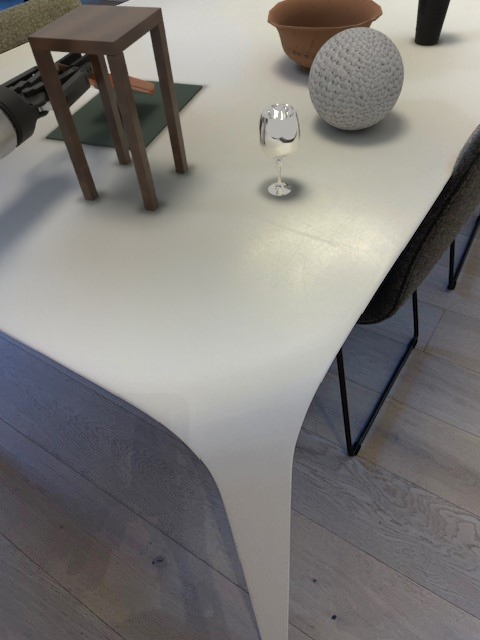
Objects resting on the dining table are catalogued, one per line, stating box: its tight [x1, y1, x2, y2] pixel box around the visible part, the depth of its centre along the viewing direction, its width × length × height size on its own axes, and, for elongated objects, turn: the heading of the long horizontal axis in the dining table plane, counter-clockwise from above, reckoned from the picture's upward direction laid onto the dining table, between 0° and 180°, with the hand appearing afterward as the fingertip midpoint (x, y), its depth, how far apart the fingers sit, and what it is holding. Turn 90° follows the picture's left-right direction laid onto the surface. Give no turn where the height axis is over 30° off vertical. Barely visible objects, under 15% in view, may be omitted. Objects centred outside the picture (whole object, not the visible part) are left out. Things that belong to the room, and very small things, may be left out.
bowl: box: [267, 0, 384, 75], centre depth 98 cm, size 22×22×11 cm
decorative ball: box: [308, 27, 405, 131], centre depth 80 cm, size 15×15×15 cm
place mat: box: [45, 80, 203, 151], centre depth 95 cm, size 20×26×1 cm
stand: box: [26, 4, 189, 212], centre depth 69 cm, size 12×12×23 cm
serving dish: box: [54, 62, 154, 95], centre depth 84 cm, size 10×22×2 cm
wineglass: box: [257, 103, 301, 197], centre depth 69 cm, size 6×6×12 cm
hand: (88, 58), depth 81 cm, fingers closed on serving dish, 2 cm apart
